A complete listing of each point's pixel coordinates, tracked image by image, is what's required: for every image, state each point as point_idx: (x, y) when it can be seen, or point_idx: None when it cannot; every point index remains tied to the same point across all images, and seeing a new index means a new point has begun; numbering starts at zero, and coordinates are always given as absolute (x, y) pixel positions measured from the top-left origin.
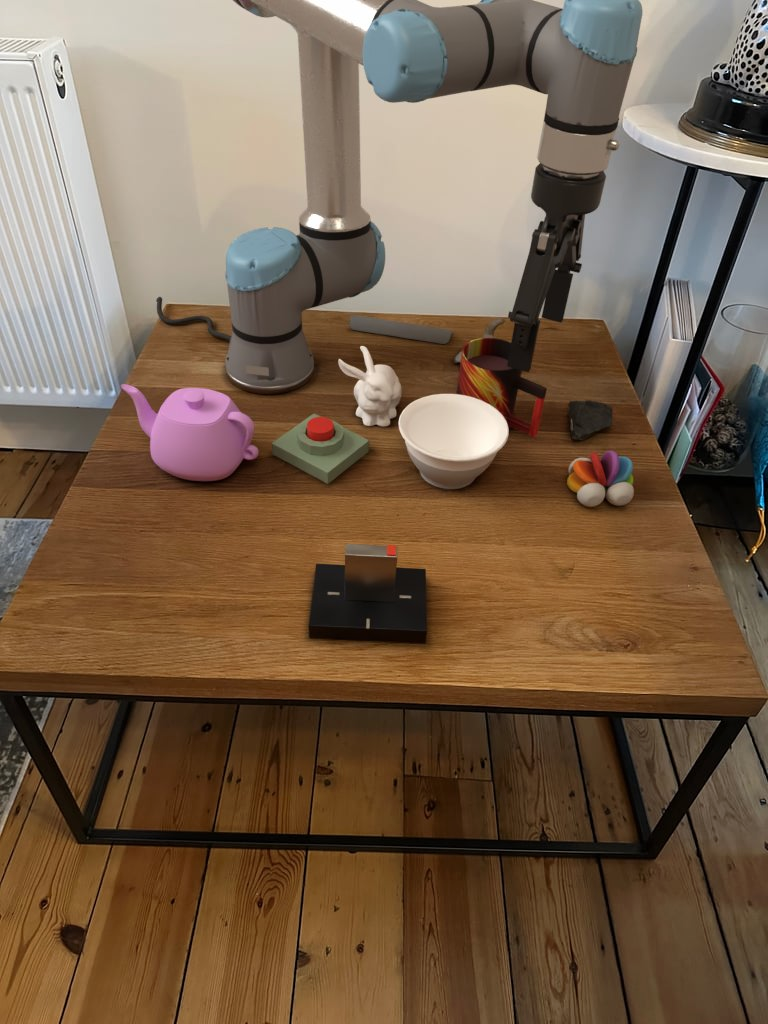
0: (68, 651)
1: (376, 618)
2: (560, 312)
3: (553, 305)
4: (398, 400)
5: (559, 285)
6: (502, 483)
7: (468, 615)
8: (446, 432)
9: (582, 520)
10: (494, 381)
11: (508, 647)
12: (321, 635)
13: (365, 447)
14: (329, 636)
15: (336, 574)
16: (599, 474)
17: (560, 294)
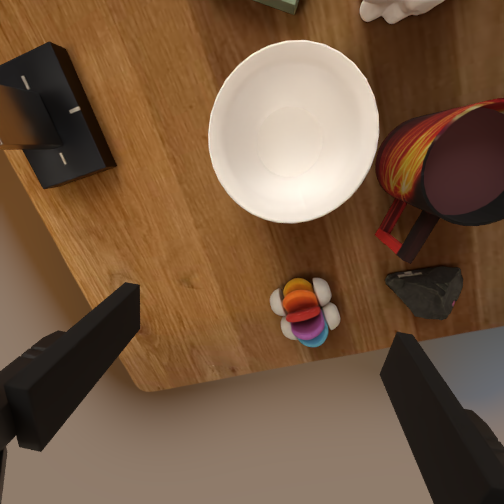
0: None
1: None
2: (391, 391)
3: (406, 385)
4: (413, 12)
5: (438, 458)
6: None
7: (103, 214)
8: (336, 124)
9: (257, 291)
10: (411, 182)
11: (91, 250)
12: None
13: (286, 6)
14: None
15: (49, 73)
16: (286, 317)
17: (420, 433)
